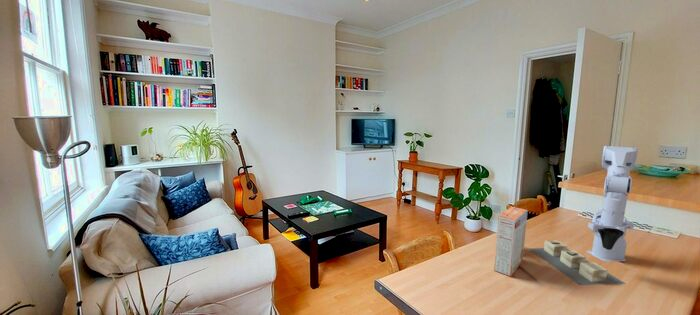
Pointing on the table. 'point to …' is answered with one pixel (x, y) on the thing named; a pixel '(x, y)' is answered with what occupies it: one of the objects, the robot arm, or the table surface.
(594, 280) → the block plain
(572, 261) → the block seven
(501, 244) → the cracker box
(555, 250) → the block one
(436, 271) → the table surface
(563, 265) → the mat
